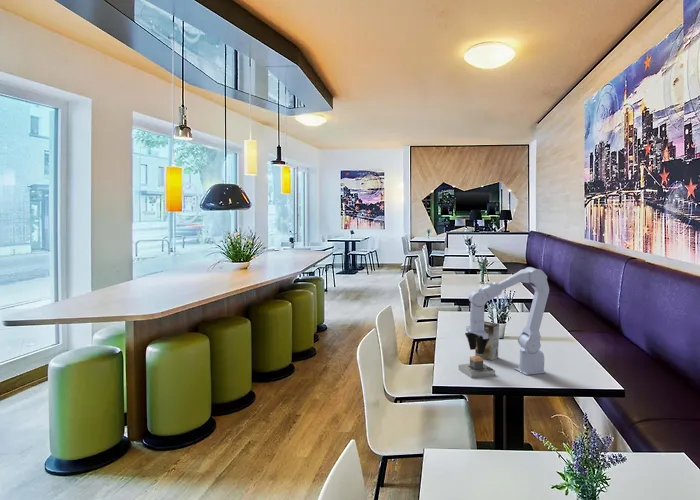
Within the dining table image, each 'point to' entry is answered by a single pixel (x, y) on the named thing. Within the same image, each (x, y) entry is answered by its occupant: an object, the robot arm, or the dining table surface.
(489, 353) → the coffee box
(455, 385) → the dining table surface
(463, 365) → the socket plate
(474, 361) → the plug
